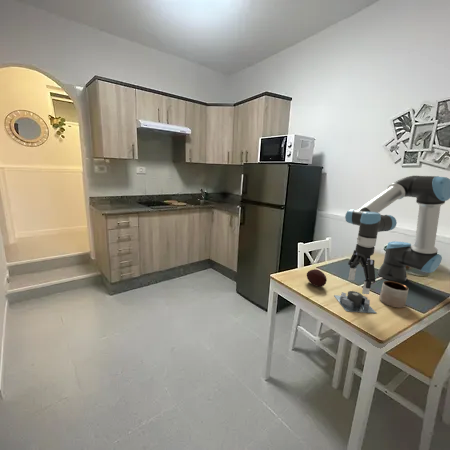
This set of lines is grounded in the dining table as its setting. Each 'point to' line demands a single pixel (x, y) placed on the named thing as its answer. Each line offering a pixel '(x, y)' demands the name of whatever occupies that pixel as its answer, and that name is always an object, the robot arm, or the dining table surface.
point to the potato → (316, 277)
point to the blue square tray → (349, 304)
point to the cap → (355, 298)
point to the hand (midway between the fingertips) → (357, 286)
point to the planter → (394, 294)
